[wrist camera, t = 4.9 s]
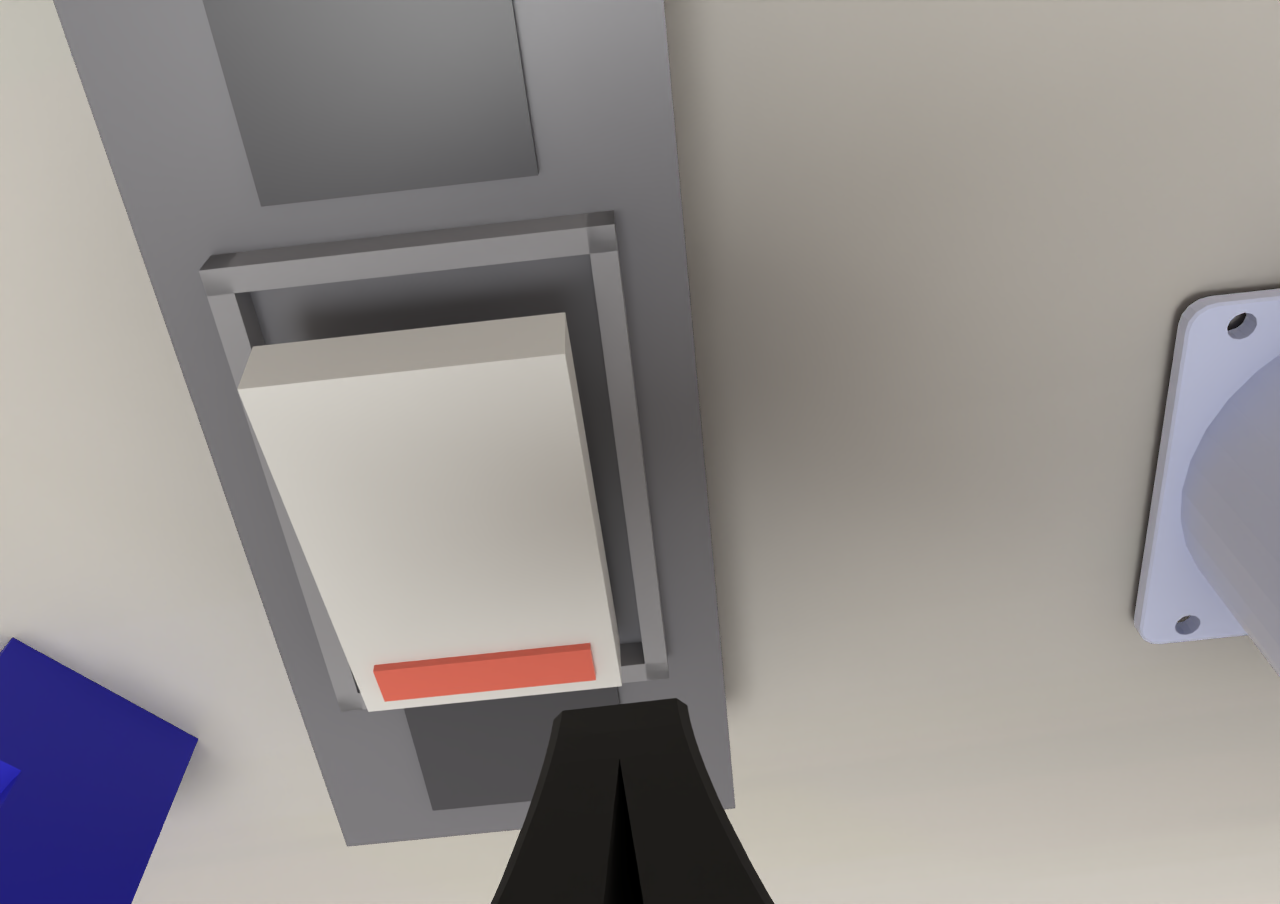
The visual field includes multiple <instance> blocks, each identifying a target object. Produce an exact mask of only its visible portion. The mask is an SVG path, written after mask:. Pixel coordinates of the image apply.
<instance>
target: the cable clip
mask: <svg viewBox="0 0 1280 904" xmlns="http://www.w3.org/2000/svg"><path fill="white" fill-rule="evenodd" d="M197 741H198V739H197V738H196V737H194V736H192V735H190V734H188V733H186V732H185V731H183V730H181V729H179V728H177V727H175V726H174V725H172V724H170V723H168V722H166V721H164V720H163V719H161V718H159V717H157V716H155V715H154V714H152V713H150V712H148V711H146V710H144V709H143V708H141V707H139V706H137V705H135V704H133V703H132V702H130V701H128V700H126V699H124V698H122V697H121V696H119V695H117V694H115V693H113V692H112V691H110V690H108V689H106V688H104V687H102V686H101V685H99V684H97V683H95V682H93V681H91V680H90V679H88V678H86V677H84V676H82V675H80V674H79V673H77V672H75V671H73V670H71V669H69V668H68V667H66V666H64V665H62V664H60V663H59V662H57V661H55V660H53V659H51V658H49V657H48V656H46V655H44V654H42V653H40V652H38V651H37V650H35V649H33V648H31V647H29V646H27V645H26V644H24V643H22V642H20V641H18V640H17V639H15V638H12V639H11V640H10V641H9V642H8V644H7V645H6V646H5V647H4V648H3V650H2V651H1V652H0V904H131V903H132V901H133V898H134V896H135V893H136V891H137V888H138V886H139V883H140V881H141V878H142V876H143V874H144V871H145V869H146V866H147V864H148V861H149V859H150V856H151V854H152V851H153V849H154V847H155V844H156V842H157V839H158V837H159V834H160V832H161V829H162V827H163V824H164V822H165V819H166V817H167V815H168V812H169V810H170V807H171V805H172V802H173V800H174V797H175V795H176V792H177V790H178V788H179V785H180V783H181V780H182V778H183V775H184V773H185V770H186V768H187V765H188V763H189V761H190V758H191V756H192V753H193V751H194V748H195V746H196V743H197Z"/></svg>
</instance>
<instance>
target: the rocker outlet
mask: <svg viewBox="0 0 1280 904" xmlns="http://www.w3.org/2000/svg"><path fill="white" fill-rule="evenodd" d="M237 390H238V392H239V395H240V397H241V400H242V402H243V405H244V407H245V410H246V412H247V415H248V417H249V419H250V422H251V424H252V427H253V429H254V432H255V434H256V437H257V439H258V442H259V444H260V447H261V449H262V451H263V454H264V456H265V459H266V461H267V464H268V466H269V469H270V471H271V474H272V476H273V479H274V481H275V483H276V486H277V488H278V491H279V493H280V496H281V498H282V501H283V503H284V506H285V508H286V511H287V513H288V515H289V518H290V520H291V523H292V525H293V528H294V530H295V533H296V535H297V538H298V540H299V542H300V545H301V547H302V550H303V552H304V555H305V557H306V560H307V562H308V565H309V567H310V570H311V572H312V574H313V577H314V579H315V582H316V584H317V587H318V589H319V592H320V594H321V597H322V599H323V602H324V604H325V606H326V609H327V611H328V614H329V616H330V619H331V621H332V624H333V626H334V629H335V631H336V633H337V636H338V638H339V641H340V643H341V646H342V648H343V651H344V653H345V656H346V658H347V661H348V663H349V665H350V668H351V670H352V673H353V675H354V678H355V680H356V683H357V685H358V688H359V690H360V693H361V695H362V697H363V700H364V702H365V705H366V707H367V710H368V712H372V711H382V710H392V709H402V708H412V707H421V706H431V705H441V704H451V703H461V702H471V701H480V700H490V699H500V698H510V697H520V696H530V695H539V694H549V693H559V692H569V691H579V690H589V689H599V688H608V687H618V686H622V677H621V656H620V639H619V633H618V627H617V621H616V615H615V609H614V603H613V597H612V591H611V585H610V579H609V573H608V567H607V561H606V555H605V549H604V543H603V537H602V531H601V525H600V519H599V513H598V507H597V501H596V495H595V489H594V483H593V477H592V471H591V465H590V459H589V453H588V447H587V441H586V435H585V429H584V423H583V417H582V411H581V405H580V399H579V393H578V387H577V381H576V375H575V369H574V363H573V357H572V351H571V345H570V339H569V333H568V327H567V321H566V315H565V312H563V313H554V314H545V315H536V316H527V317H518V318H508V319H499V320H490V321H481V322H472V323H463V324H454V325H445V326H436V327H427V328H417V329H408V330H399V331H390V332H381V333H372V334H363V335H354V336H345V337H336V338H327V339H317V340H308V341H299V342H290V343H281V344H272V345H263V346H254V347H253V348H252V351H251V353H250V356H249V359H248V362H247V364H246V367H245V370H244V373H243V375H242V378H241V381H240V384H239V386H238V389H237Z"/></svg>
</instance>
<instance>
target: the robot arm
mask: <svg viewBox="0 0 1280 904" xmlns="http://www.w3.org/2000/svg"><path fill="white" fill-rule="evenodd" d="M1242 313H1246V317H1245V320H1244V322H1243V323H1242V324H1241V325H1240V326H1238V327H1237V328H1235V329H1232V330H1227V327H1228V325H1229V323H1230V321H1231V320H1232V319H1233V318H1234V317H1235V316H1236V315H1239V314H1242ZM1189 615H1190V617H1189V618H1188V619H1186V620H1185V621H1183V622H1179V623H1177V621H1179V620H1180V619H1181V618H1182V617H1185V616H1189ZM1134 625H1135V628H1136V629H1137V631H1138V632H1139V634H1140V635H1141V637H1142V638H1143V639H1144V640H1145V641H1147V642H1149V643H1151V644H1165V643H1175V642H1185V641H1194V640H1204V639H1214V638H1224V637H1234V636H1244V635H1248V636H1249V637H1250V638H1251V640H1252V641H1253V642H1254V644H1255V645H1256V646H1257V648H1258V649H1259V650H1260V652H1261V653H1262V654H1263V656H1264V657H1265V658H1266V660H1267V661H1268V662H1269V664H1270V665H1271V666H1272V668H1273V669H1274V670H1275V672H1276V673H1277V674H1278V676H1279V677H1280V289H1271V290H1261V291H1252V292H1243V293H1234V294H1225V295H1215V296H1208V297H1205V298H1201V299H1198V300H1197V301H1195V302H1194V303H1192V304H1191V305H1189V306H1188V307H1187V309H1186V310H1185V311H1184V312H1183V314H1182V315H1181V318H1180V321H1179V323H1178V329H1177V336H1176V343H1175V349H1174V356H1173V362H1172V369H1171V376H1170V382H1169V389H1168V396H1167V402H1166V409H1165V416H1164V422H1163V429H1162V436H1161V442H1160V449H1159V456H1158V462H1157V469H1156V476H1155V482H1154V489H1153V495H1152V502H1151V509H1150V515H1149V522H1148V529H1147V535H1146V542H1145V549H1144V555H1143V562H1142V569H1141V575H1140V582H1139V589H1138V595H1137V602H1136V609H1135V615H1134ZM491 904H774V902H773V901H772V899H771V897H770V896H769V894H768V892H767V891H766V889H765V887H764V885H763V883H762V882H761V880H760V878H759V876H758V875H757V873H756V871H755V869H754V867H753V866H752V864H751V862H750V860H749V858H748V856H747V854H746V852H745V850H744V848H743V846H742V844H741V842H740V840H739V838H738V837H737V835H736V833H735V831H734V829H733V827H732V825H731V823H730V821H729V819H728V817H727V815H726V813H725V811H724V808H723V806H722V804H721V802H720V800H719V798H718V796H717V793H716V791H715V788H714V786H713V784H712V781H711V779H710V777H709V774H708V772H707V770H706V767H705V764H704V762H703V759H702V756H701V754H700V751H699V748H698V745H697V742H696V739H695V736H694V732H693V729H692V725H691V721H690V717H689V712H688V706H687V705H686V704H685V703H683V702H682V701H680V700H679V699H677V698H671V699H662V700H653V701H644V702H635V703H626V704H617V705H608V706H599V707H591V708H582V709H573V710H564V711H562V712H561V713H560V714H559V715H558V716H557V717H556V718H555V719H554V720H553V725H552V730H551V735H550V740H549V744H548V748H547V751H546V755H545V759H544V763H543V766H542V770H541V773H540V776H539V779H538V783H537V786H536V789H535V792H534V795H533V798H532V800H531V803H530V806H529V809H528V812H527V815H526V818H525V821H524V823H523V826H522V828H521V831H520V834H519V836H518V839H517V841H516V844H515V846H514V849H513V852H512V854H511V857H510V859H509V862H508V864H507V867H506V869H505V872H504V875H503V877H502V879H501V882H500V884H499V886H498V889H497V891H496V893H495V896H494V898H493V900H492V902H491Z"/></svg>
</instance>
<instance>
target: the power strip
mask: <svg viewBox="0 0 1280 904" xmlns="http://www.w3.org/2000/svg"><path fill="white" fill-rule="evenodd" d="M53 2H54V5H55V7H56V10H57V13H58V16H59V19H60V22H61V25H62V28H63V30H64V33H65V36H66V39H67V42H68V45H69V48H70V51H71V53H72V56H73V59H74V62H75V65H76V68H77V71H78V74H79V76H80V79H81V82H82V85H83V88H84V91H85V94H86V97H87V99H88V102H89V105H90V108H91V111H92V114H93V117H94V120H95V122H96V125H97V128H98V131H99V134H100V137H101V140H102V143H103V145H104V148H105V151H106V154H107V157H108V160H109V163H110V166H111V168H112V171H113V174H114V177H115V180H116V183H117V186H118V189H119V192H120V194H121V197H122V200H123V203H124V206H125V209H126V212H127V215H128V217H129V220H130V223H131V226H132V229H133V232H134V235H135V238H136V240H137V243H138V246H139V249H140V252H141V255H142V258H143V261H144V263H145V266H146V269H147V272H148V275H149V278H150V281H151V284H152V286H153V289H154V292H155V295H156V298H157V301H158V304H159V307H160V309H161V312H162V315H163V318H164V321H165V324H166V327H167V330H168V332H169V335H170V338H171V341H172V344H173V347H174V350H175V353H176V355H177V358H178V361H179V364H180V367H181V370H182V373H183V376H184V379H185V381H186V384H187V387H188V390H189V393H190V396H191V399H192V402H193V404H194V407H195V410H196V413H197V416H198V419H199V422H200V425H201V427H202V430H203V433H204V436H205V439H206V442H207V445H208V448H209V450H210V453H211V456H212V459H213V462H214V465H215V468H216V471H217V473H218V476H219V479H220V482H221V485H222V488H223V491H224V494H225V496H226V499H227V502H228V505H229V508H230V511H231V514H232V517H233V519H234V522H235V525H236V528H237V531H238V534H239V537H240V540H241V542H242V545H243V548H244V551H245V554H246V557H247V560H248V563H249V565H250V568H251V571H252V574H253V577H254V580H255V583H256V586H257V589H258V591H259V594H260V597H261V600H262V603H263V606H264V609H265V612H266V614H267V617H268V620H269V623H270V626H271V629H272V632H273V635H274V637H275V640H276V643H277V646H278V649H279V652H280V655H281V658H282V660H283V663H284V666H285V669H286V672H287V675H288V678H289V681H290V683H291V686H292V689H293V692H294V695H295V698H296V701H297V704H298V706H299V709H300V712H301V715H302V718H303V721H304V724H305V727H306V729H307V732H308V735H309V738H310V741H311V744H312V747H313V750H314V752H315V755H316V758H317V761H318V764H319V767H320V770H321V773H322V776H323V778H324V781H325V784H326V787H327V790H328V793H329V796H330V799H331V801H332V804H333V807H334V810H335V813H336V816H337V819H338V822H339V824H340V827H341V830H342V833H343V836H344V839H345V842H346V845H347V846H357V845H367V844H377V843H387V842H397V841H408V840H418V839H428V838H438V837H448V836H458V835H468V834H478V833H489V832H499V831H509V830H519V829H521V828H522V826H523V823H524V821H525V818H526V815H527V812H528V809H529V806H530V803H531V800H532V798H533V795H534V792H535V789H536V786H537V783H538V779H539V776H540V773H541V770H542V766H543V763H544V759H545V755H546V751H547V748H548V744H549V740H550V735H551V730H552V725H553V720H554V719H555V718H556V717H557V716H558V715H559V714H560V713H561V712H562V711H564V710H573V709H582V708H591V707H599V706H608V705H617V704H626V703H635V702H644V701H653V700H662V699H671V698H677V699H679V700H680V701H682V702H683V703H685V704H686V705H687V706H688V712H689V717H690V721H691V725H692V729H693V732H694V736H695V739H696V742H697V745H698V748H699V751H700V754H701V756H702V759H703V762H704V764H705V767H706V770H707V772H708V774H709V777H710V779H711V781H712V784H713V786H714V788H715V791H716V793H717V796H718V798H719V800H720V802H721V804H722V806H723V808H724V809H732V808H735V799H734V788H733V777H732V766H731V754H730V743H729V732H728V720H727V709H726V698H725V686H724V675H723V664H722V653H721V641H720V630H719V619H718V607H717V596H716V585H715V574H714V562H713V551H712V540H711V528H710V517H709V506H708V494H707V483H706V472H705V461H704V449H703V438H702V427H701V415H700V404H699V393H698V382H697V370H696V359H695V348H694V336H693V325H692V314H691V302H690V291H689V280H688V269H687V257H686V246H685V235H684V223H683V212H682V201H681V190H680V178H679V167H678V156H677V144H676V133H675V122H674V110H673V99H672V88H671V77H670V65H669V54H668V43H667V31H666V20H665V9H664V0H53ZM563 312H565V315H566V321H567V327H568V333H569V339H570V345H571V351H572V357H573V363H574V369H575V375H576V381H577V387H578V393H579V399H580V405H581V411H582V417H583V423H584V429H585V435H586V441H587V447H588V453H589V459H590V465H591V471H592V477H593V483H594V489H595V495H596V501H597V507H598V513H599V519H600V525H601V531H602V537H603V543H604V549H605V555H606V561H607V567H608V573H609V579H610V585H611V591H612V597H613V603H614V609H615V615H616V621H617V627H618V633H619V639H620V656H621V677H622V686H618V687H608V688H599V689H589V690H579V691H569V692H559V693H549V694H539V695H530V696H520V697H510V698H500V699H490V700H480V701H471V702H461V703H451V704H441V705H431V706H421V707H412V708H402V709H392V710H382V711H372V712H368V710H367V707H366V705H365V702H364V700H363V697H362V695H361V693H360V690H359V688H358V685H357V683H356V680H355V678H354V675H353V673H352V670H351V668H350V665H349V663H348V661H347V658H346V656H345V653H344V651H343V648H342V646H341V643H340V641H339V638H338V636H337V633H336V631H335V629H334V626H333V624H332V621H331V619H330V616H329V614H328V611H327V609H326V606H325V604H324V602H323V599H322V597H321V594H320V592H319V589H318V587H317V584H316V582H315V579H314V577H313V574H312V572H311V570H310V567H309V565H308V562H307V560H306V557H305V555H304V552H303V550H302V547H301V545H300V542H299V540H298V538H297V535H296V533H295V530H294V528H293V525H292V523H291V520H290V518H289V515H288V513H287V511H286V508H285V506H284V503H283V501H282V498H281V496H280V493H279V491H278V488H277V486H276V483H275V481H274V479H273V476H272V474H271V471H270V469H269V466H268V464H267V461H266V459H265V456H264V454H263V451H262V449H261V447H260V444H259V442H258V439H257V437H256V434H255V432H254V429H253V427H252V424H251V422H250V419H249V417H248V415H247V412H246V410H245V407H244V405H243V402H242V400H241V397H240V395H239V392H238V390H237V389H238V386H239V384H240V381H241V378H242V375H243V373H244V370H245V367H246V364H247V362H248V359H249V356H250V353H251V351H252V348H253V347H254V346H263V345H272V344H281V343H290V342H299V341H308V340H317V339H327V338H336V337H345V336H354V335H363V334H372V333H381V332H390V331H399V330H408V329H417V328H427V327H436V326H445V325H454V324H463V323H472V322H481V321H490V320H499V319H508V318H518V317H527V316H536V315H545V314H554V313H563Z"/></svg>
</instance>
